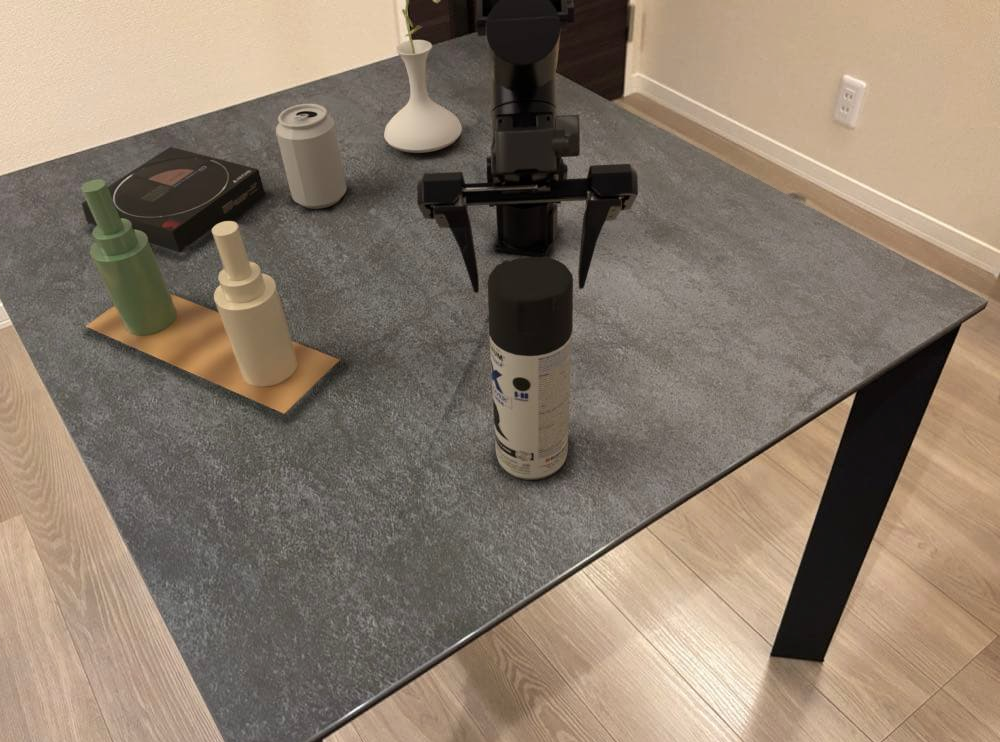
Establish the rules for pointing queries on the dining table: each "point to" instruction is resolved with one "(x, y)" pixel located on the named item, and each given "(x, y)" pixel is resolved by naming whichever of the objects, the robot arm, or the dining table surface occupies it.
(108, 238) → the green bottle
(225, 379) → the board
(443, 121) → the flower in vase
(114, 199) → the portable cd player
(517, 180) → the robot arm
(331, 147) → the can
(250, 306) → the cream bottle
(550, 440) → the spray can
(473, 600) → the dining table surface
